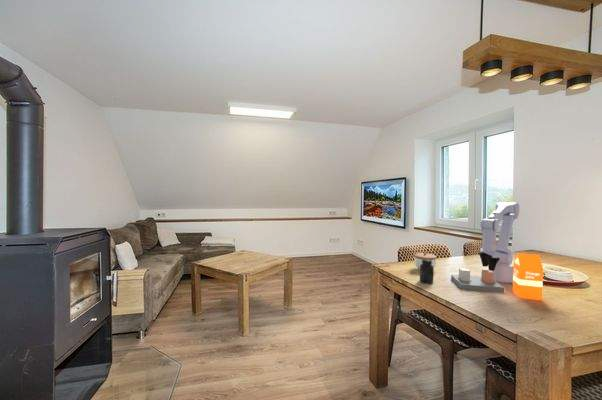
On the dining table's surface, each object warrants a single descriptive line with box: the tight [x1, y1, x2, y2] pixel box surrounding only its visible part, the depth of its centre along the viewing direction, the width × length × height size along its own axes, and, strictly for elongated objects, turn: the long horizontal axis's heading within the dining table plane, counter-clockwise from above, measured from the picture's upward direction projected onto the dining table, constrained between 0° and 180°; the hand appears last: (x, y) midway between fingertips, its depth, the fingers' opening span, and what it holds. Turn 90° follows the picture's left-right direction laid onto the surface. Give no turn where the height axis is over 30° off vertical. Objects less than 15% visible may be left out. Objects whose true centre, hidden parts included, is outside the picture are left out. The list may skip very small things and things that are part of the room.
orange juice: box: [512, 252, 544, 301], centre depth 130 cm, size 8×9×20 cm
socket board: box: [450, 267, 505, 293], centre depth 144 cm, size 19×16×8 cm
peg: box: [480, 269, 494, 283], centre depth 142 cm, size 4×4×8 cm
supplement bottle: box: [419, 259, 435, 285], centre depth 149 cm, size 7×7×12 cm
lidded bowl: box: [413, 251, 437, 271], centre depth 171 cm, size 13×13×11 cm
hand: (488, 268), depth 142 cm, fingers open, 7 cm apart
